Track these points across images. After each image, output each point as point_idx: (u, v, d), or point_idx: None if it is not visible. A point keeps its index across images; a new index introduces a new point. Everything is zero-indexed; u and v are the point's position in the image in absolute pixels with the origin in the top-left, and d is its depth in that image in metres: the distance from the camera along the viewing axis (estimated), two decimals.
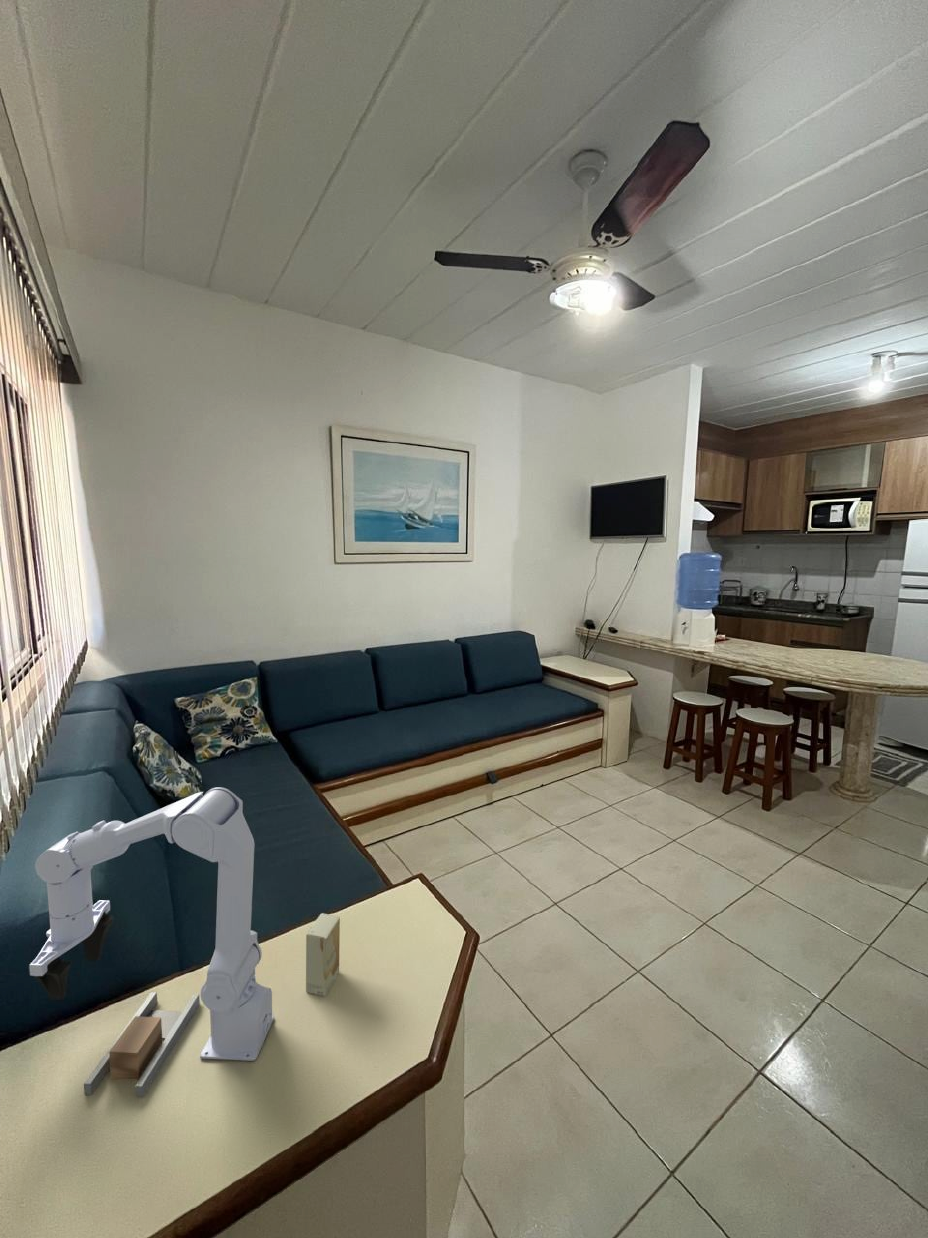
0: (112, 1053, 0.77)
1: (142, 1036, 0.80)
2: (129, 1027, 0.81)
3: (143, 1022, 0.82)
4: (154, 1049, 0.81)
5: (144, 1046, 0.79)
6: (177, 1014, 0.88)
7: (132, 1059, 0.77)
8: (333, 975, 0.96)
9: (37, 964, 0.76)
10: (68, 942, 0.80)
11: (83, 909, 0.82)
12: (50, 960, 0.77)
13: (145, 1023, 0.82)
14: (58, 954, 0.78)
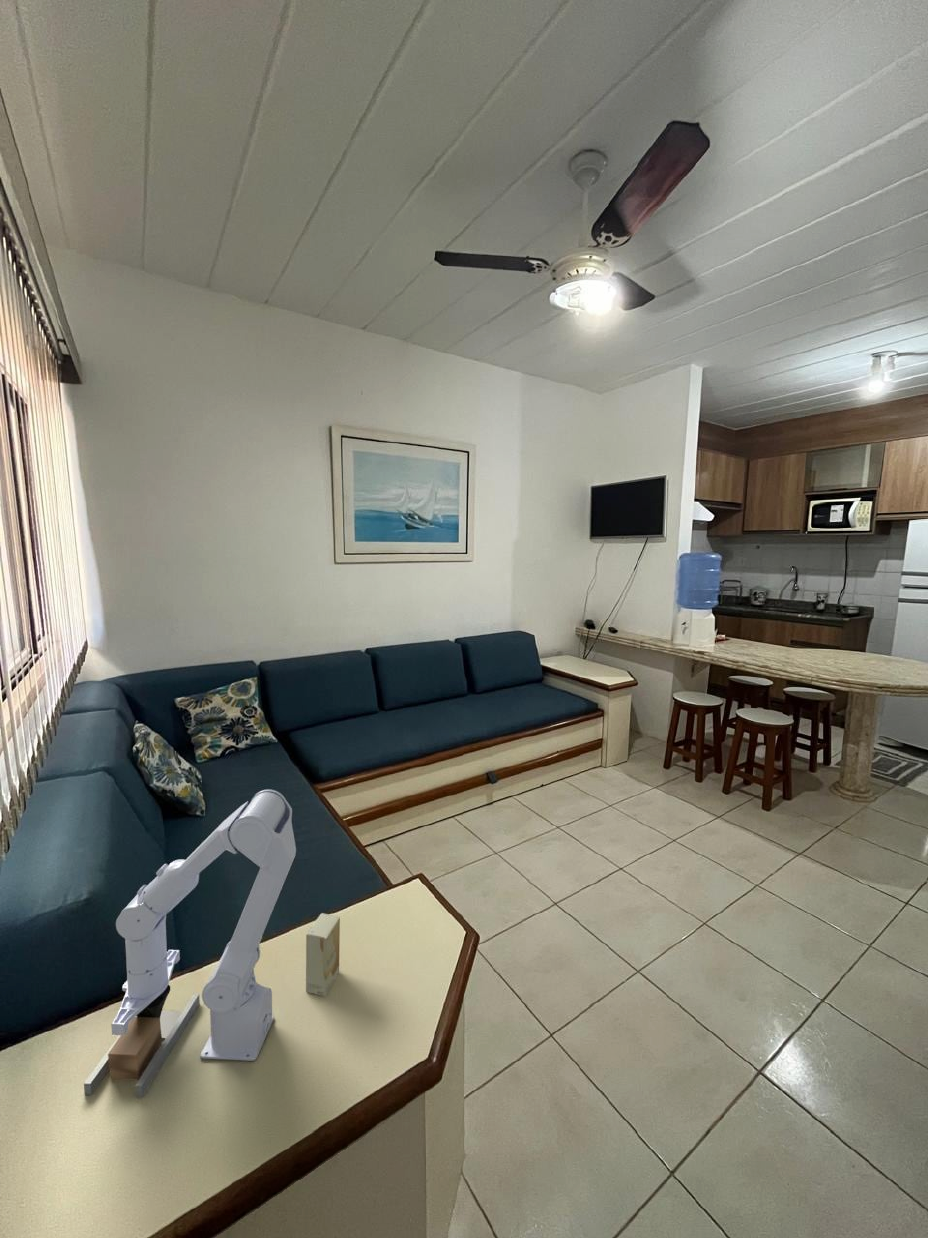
0: (111, 1055, 0.77)
1: (141, 1037, 0.79)
2: None
3: (142, 1023, 0.82)
4: (154, 1049, 0.81)
5: (143, 1048, 0.78)
6: (177, 1014, 0.88)
7: (131, 1061, 0.77)
8: (333, 975, 0.96)
9: (119, 1023, 0.76)
10: (146, 998, 0.80)
11: (160, 964, 0.81)
12: (131, 1018, 0.77)
13: (144, 1024, 0.81)
14: (138, 1011, 0.78)
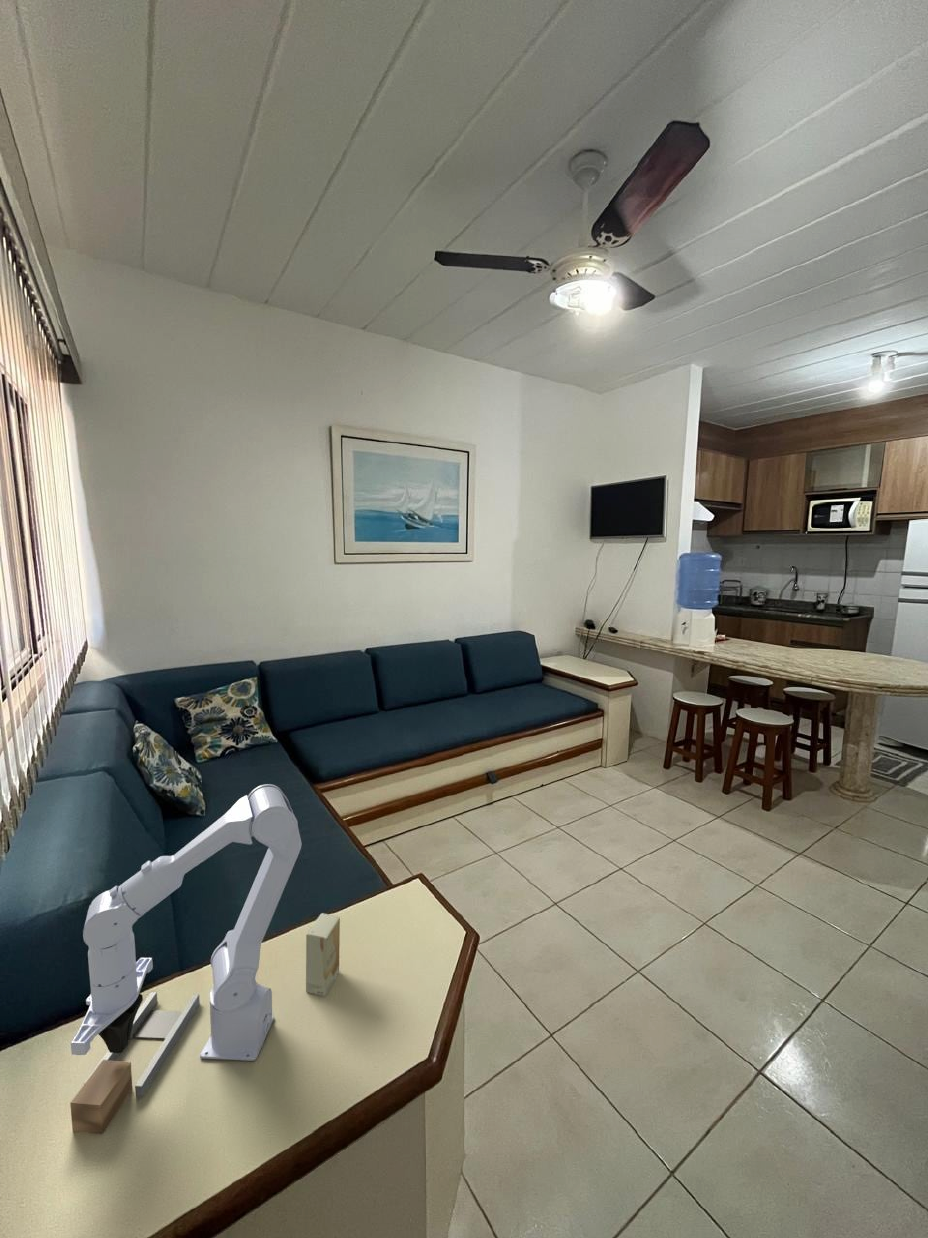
0: (73, 1104, 0.70)
1: (108, 1085, 0.72)
2: (95, 1073, 0.74)
3: (111, 1067, 0.75)
4: (122, 1098, 0.74)
5: (109, 1097, 0.71)
6: (177, 1014, 0.88)
7: (95, 1112, 0.70)
8: (333, 975, 0.96)
9: (79, 1042, 0.68)
10: (111, 1012, 0.72)
11: (127, 974, 0.73)
12: (93, 1036, 0.69)
13: (113, 1069, 0.74)
14: (101, 1028, 0.70)
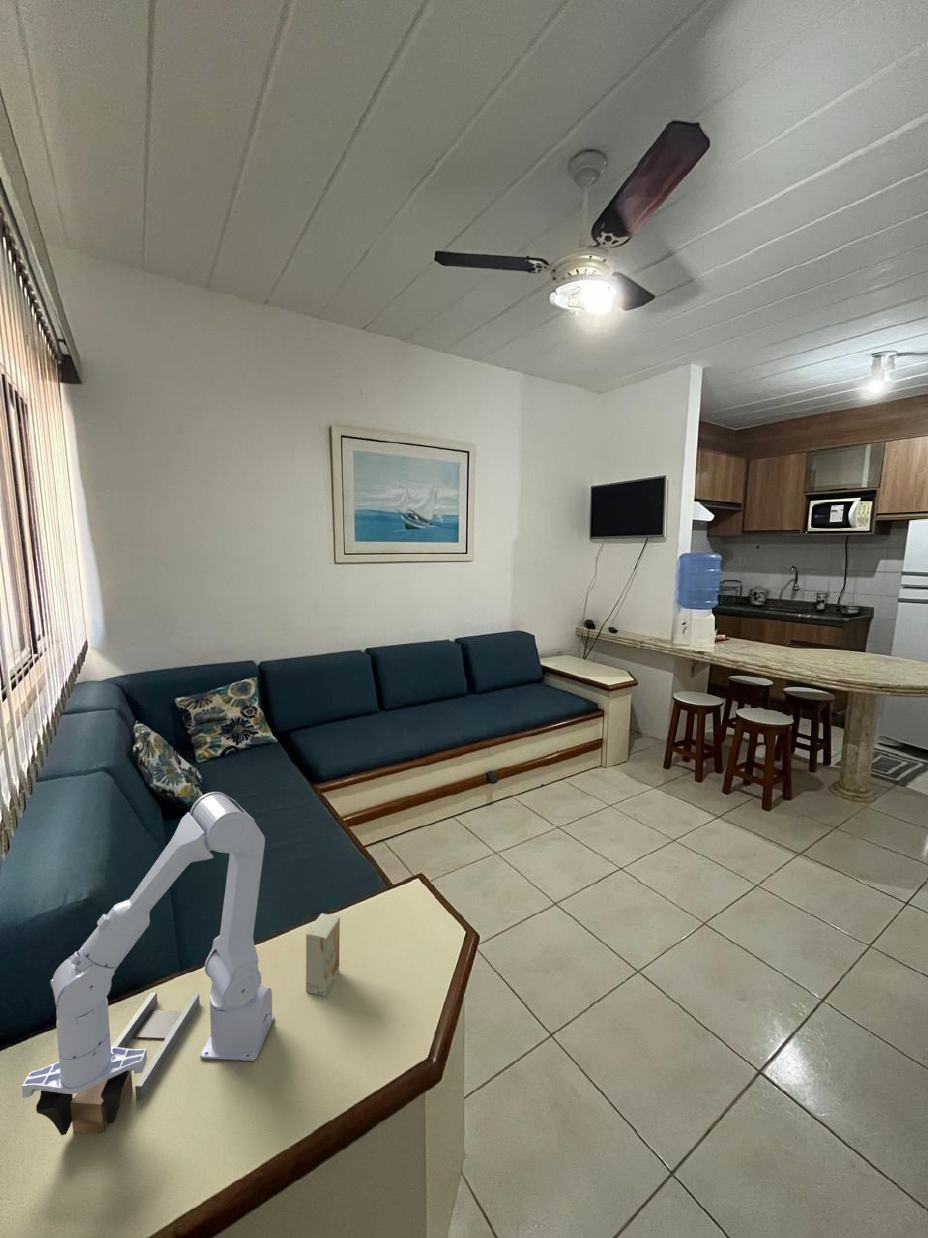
0: (73, 1104, 0.70)
1: None
2: None
3: None
4: (122, 1097, 0.74)
5: None
6: (177, 1014, 0.88)
7: (95, 1111, 0.70)
8: (333, 975, 0.96)
9: (26, 1080, 0.67)
10: (59, 1081, 0.67)
11: (68, 1058, 0.66)
12: (33, 1087, 0.67)
13: None
14: (41, 1087, 0.67)
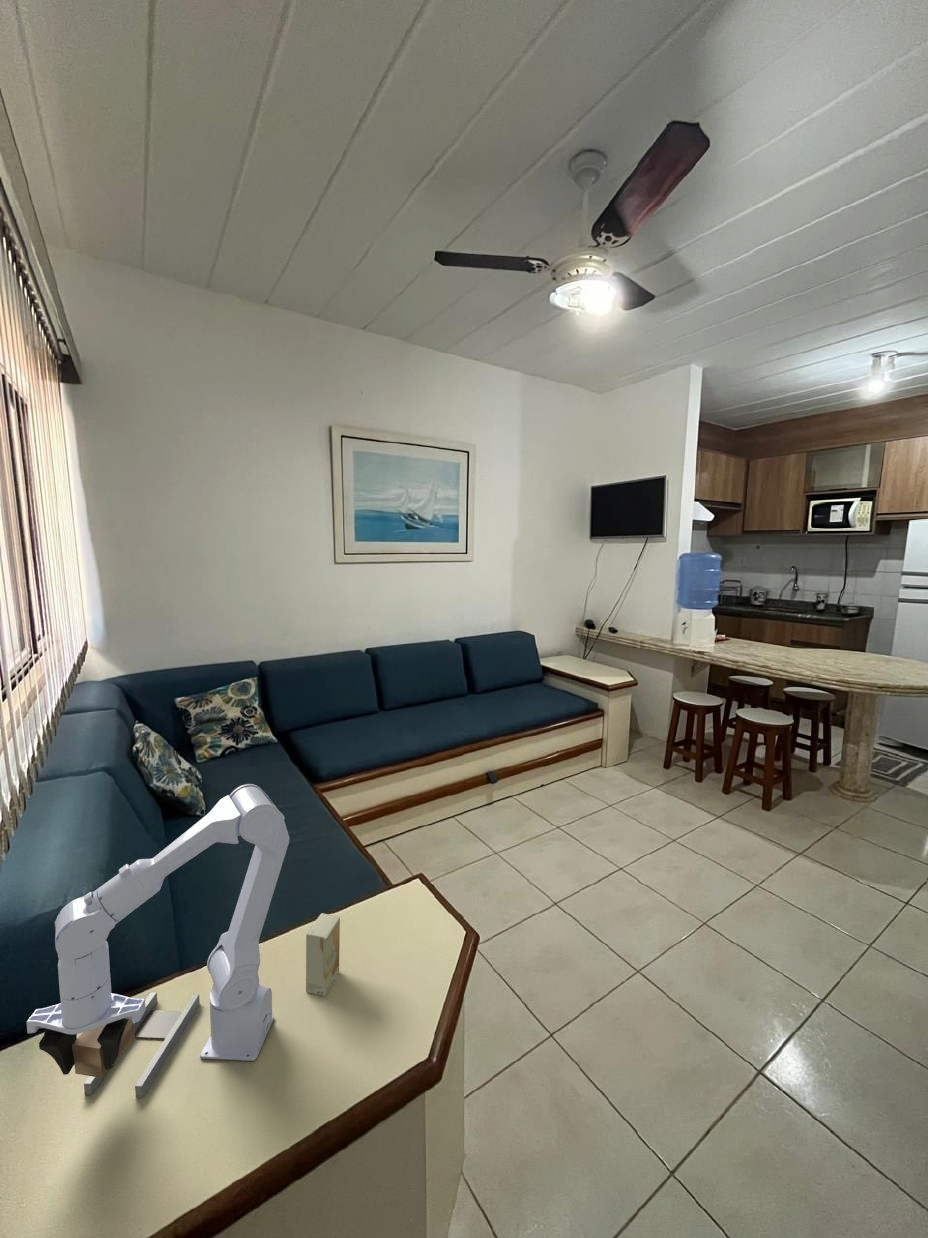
0: (75, 1046, 0.71)
1: None
2: None
3: None
4: (123, 1044, 0.75)
5: None
6: (177, 1014, 0.88)
7: (94, 1055, 0.71)
8: (333, 975, 0.96)
9: (31, 1016, 0.69)
10: (61, 1021, 0.69)
11: (67, 999, 0.67)
12: (37, 1024, 0.68)
13: None
14: (43, 1025, 0.68)
